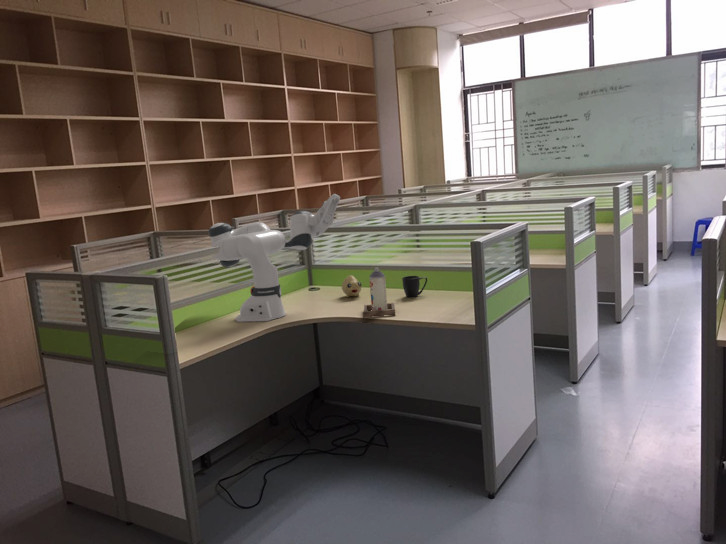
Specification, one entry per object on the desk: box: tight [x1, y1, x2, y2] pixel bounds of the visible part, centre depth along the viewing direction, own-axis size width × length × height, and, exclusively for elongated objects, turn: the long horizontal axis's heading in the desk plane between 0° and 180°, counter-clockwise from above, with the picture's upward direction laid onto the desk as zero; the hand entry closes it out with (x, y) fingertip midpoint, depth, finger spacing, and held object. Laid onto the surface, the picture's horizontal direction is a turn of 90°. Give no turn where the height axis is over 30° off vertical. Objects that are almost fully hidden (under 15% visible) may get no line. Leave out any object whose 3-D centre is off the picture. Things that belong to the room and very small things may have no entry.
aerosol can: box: [369, 267, 389, 311], centre depth 268 cm, size 7×7×20 cm
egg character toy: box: [341, 274, 362, 298], centre depth 308 cm, size 10×12×11 cm
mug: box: [401, 275, 428, 299], centre depth 297 cm, size 8×12×10 cm
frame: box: [363, 302, 396, 318], centre depth 270 cm, size 13×13×2 cm
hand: (334, 207), depth 276 cm, fingers open, 8 cm apart
